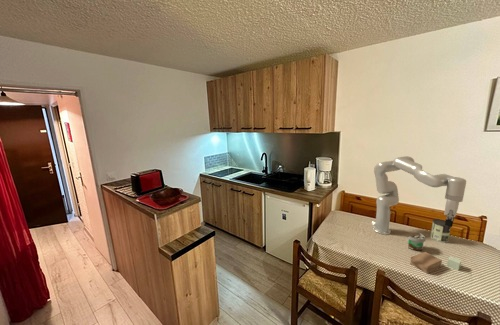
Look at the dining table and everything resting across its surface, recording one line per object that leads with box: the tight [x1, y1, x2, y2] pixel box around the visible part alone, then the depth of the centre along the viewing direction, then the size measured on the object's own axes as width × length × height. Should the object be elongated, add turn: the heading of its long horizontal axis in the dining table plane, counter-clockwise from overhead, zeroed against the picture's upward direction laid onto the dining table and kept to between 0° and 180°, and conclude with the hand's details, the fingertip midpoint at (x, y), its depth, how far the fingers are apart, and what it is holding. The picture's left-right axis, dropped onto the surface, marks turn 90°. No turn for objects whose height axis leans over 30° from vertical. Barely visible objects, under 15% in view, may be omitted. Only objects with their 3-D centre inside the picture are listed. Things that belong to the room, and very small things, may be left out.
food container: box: [407, 233, 426, 252], centre depth 139 cm, size 12×6×10 cm, turn 106°
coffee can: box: [430, 218, 452, 244], centre depth 149 cm, size 10×10×14 cm
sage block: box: [446, 255, 462, 271], centre depth 122 cm, size 5×5×5 cm
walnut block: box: [410, 251, 443, 274], centre depth 124 cm, size 9×14×5 cm, turn 109°
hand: (449, 222), depth 121 cm, fingers open, 9 cm apart
